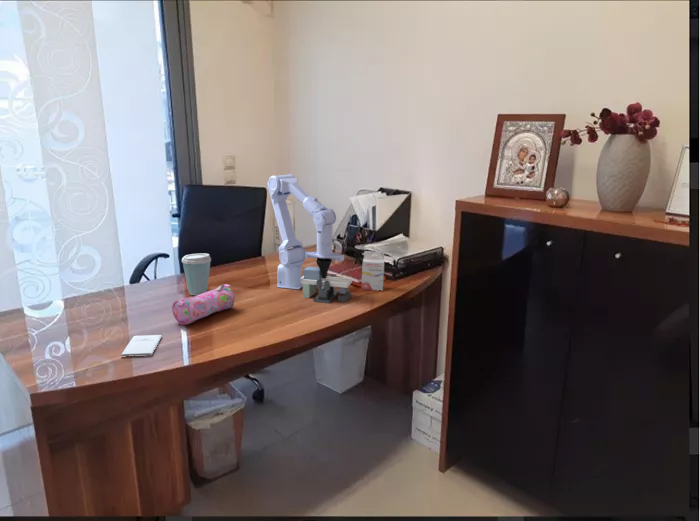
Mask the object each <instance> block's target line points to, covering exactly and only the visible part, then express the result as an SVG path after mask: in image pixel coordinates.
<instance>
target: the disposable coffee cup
mask: <svg viewBox="0 0 700 521" xmlns="http://www.w3.org/2000/svg"><path fill="white" fill-rule="evenodd" d="M211 262H212V257H211V256H210V254H209V253H205V252H204V253H201V252H200V253H191V254H185V255H184V256H183V257H182V258H181V263H182V266H183V272H184V275H185V276H184V277H185V281H186V282H185V283H186V285H187V290H188V293H189V295H190V296H197V295H200V294H203V293H205V292H208V288H209V277H210V268H211Z"/></svg>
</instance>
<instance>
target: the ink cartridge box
mask: <svg viewBox="0 0 700 521" xmlns="http://www.w3.org/2000/svg"><path fill="white" fill-rule="evenodd" d="M361 267H362V269H361V270H362V271H361V290H364V291H365V290H368V291H379V290H381V292H382V291H383V290H384V288H383V287H384V277H385V276H384V275H385V252H383V251H370V250H369V251H367V250H365V251H364V252H363V259H362V266H361Z"/></svg>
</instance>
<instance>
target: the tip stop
mask: <svg viewBox="0 0 700 521" xmlns="http://www.w3.org/2000/svg"><path fill="white" fill-rule="evenodd" d="M351 296H352V291H351V290H347V292H346V293H345V294H343V293H339V295H337V302H340V303H346V302H348V300H349V299H350V298H351Z"/></svg>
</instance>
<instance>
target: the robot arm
mask: <svg viewBox="0 0 700 521" xmlns="http://www.w3.org/2000/svg"><path fill="white" fill-rule="evenodd" d="M266 186H267V188H268V192H269V196H270V200H271V205H272V208H273V212H274V215H275V219H276V222H277V226H278V230H279V234H280V237H281V240H282V241H281V244H280V245H279V247H278V248H277V249H278V252H279V254H278V258H279V261H280V263H279V265H278V266H277V274H276V276H277V279H276V281H277V282H276V283H277V285H276V288H283V289H289V290H290V289H293V290H300V289H302V288H303V283H301V277H303V264H304V261H306V259H317V260H316V265H317V267H319V269H320V271H321V275H322V278H326V277H327V274H328V271H329V268H330V266H331V264H332V262H333V261H339V262H343V261H345V255H344V254H339V253H335V252H333V229H334V228H333V224H335V223H336V221H337V216H336V213H335V211H334V209H332V208H327V207H326V206H325V205H324V204H322V203H321V201H319V200H318V198H317V197H316V196H314V195H313V196H310V195H309V194H308V193H307V192H306V191H305V190H304V188H303V187H302V186H301V185H300V183H299V180H298V178H296V177H295V174H290V173H289V174H282V175H271V176H270V177H269V179H268V181H267V184H266ZM291 194H292V195H293V196H294V197H295V198H296V199H297V200H298V201H300V202H301V203H302V207H303V209H304V210H305V211H306V212H307V213H308V214H309V216H311V217H312V220H313V223H314V226H315V230H316V251H306V249H305V248H304V245H303V242H302V241H300V240H298V239H297V238H296V233H295V230H294V227H293V223H292V219H291V216H290V212H289V207H288V204H287V200H288V199H287V198H288V197H290V195H291Z"/></svg>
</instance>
